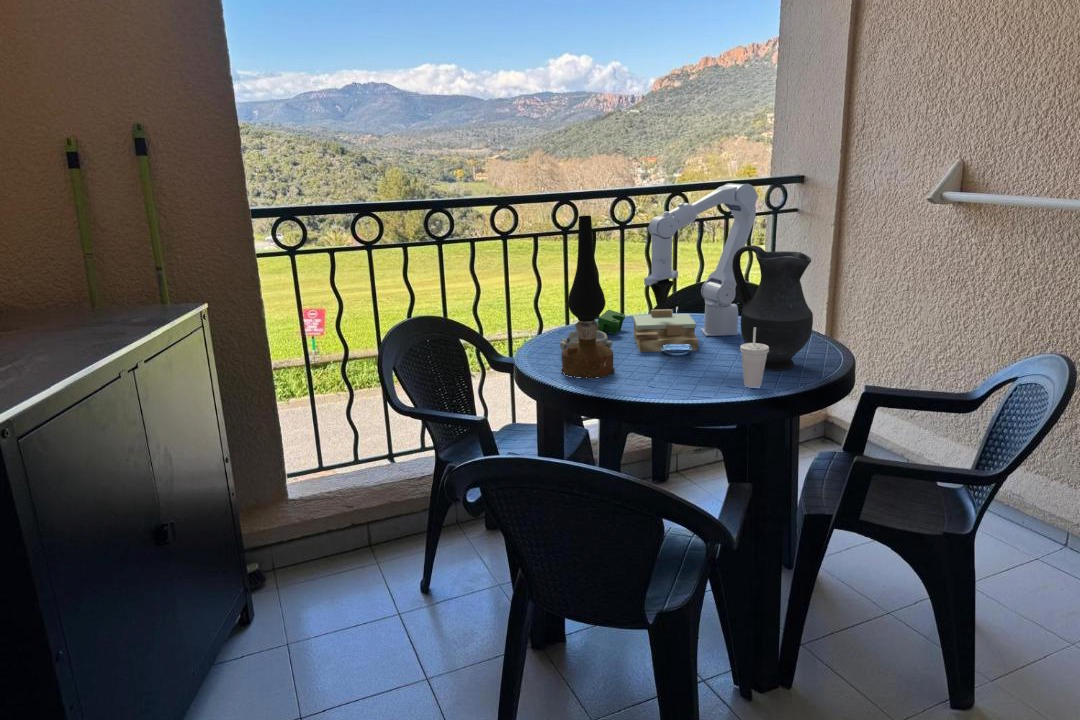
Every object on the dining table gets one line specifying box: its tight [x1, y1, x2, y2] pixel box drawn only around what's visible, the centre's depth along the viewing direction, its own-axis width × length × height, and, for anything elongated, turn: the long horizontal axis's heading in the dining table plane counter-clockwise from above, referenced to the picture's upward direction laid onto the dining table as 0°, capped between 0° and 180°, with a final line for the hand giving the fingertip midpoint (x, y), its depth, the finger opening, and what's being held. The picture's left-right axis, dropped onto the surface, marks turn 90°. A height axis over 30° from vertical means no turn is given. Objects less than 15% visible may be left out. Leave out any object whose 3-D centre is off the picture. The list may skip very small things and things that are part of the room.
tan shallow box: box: [633, 322, 699, 353], centre depth 195 cm, size 16×17×5 cm
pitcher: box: [732, 244, 814, 371], centre depth 169 cm, size 17×21×30 cm
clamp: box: [597, 309, 626, 335], centre depth 210 cm, size 12×6×9 cm, turn 153°
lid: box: [632, 308, 697, 336], centre depth 196 cm, size 17×14×5 cm
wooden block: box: [634, 332, 658, 341], centre depth 189 cm, size 6×2×1 cm, turn 88°
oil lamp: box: [560, 215, 615, 378], centre depth 170 cm, size 14×15×40 cm
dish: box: [559, 329, 613, 353], centre depth 190 cm, size 14×14×5 cm
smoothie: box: [739, 327, 769, 387], centre depth 156 cm, size 6×6×14 cm
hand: (661, 305), depth 196 cm, fingers closed
